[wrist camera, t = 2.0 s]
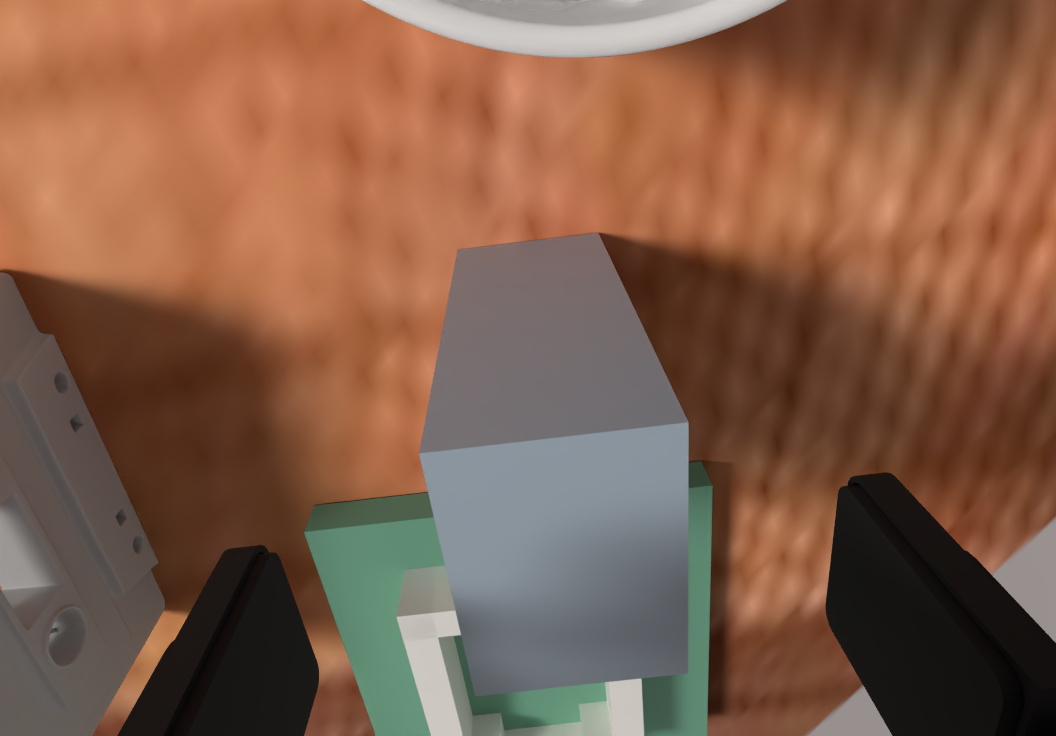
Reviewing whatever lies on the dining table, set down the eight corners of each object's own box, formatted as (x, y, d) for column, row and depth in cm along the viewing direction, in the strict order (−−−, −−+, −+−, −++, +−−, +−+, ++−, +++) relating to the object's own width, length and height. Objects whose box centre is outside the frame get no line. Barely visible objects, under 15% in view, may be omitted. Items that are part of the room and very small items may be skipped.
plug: (457, 249, 17) (419, 453, 9) (598, 232, 17) (689, 422, 9) (490, 444, 20) (484, 733, 12) (611, 430, 19) (687, 711, 11)
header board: (314, 505, 20) (286, 577, 18) (701, 461, 20) (732, 527, 17) (394, 743, 26) (382, 826, 23) (698, 711, 26) (721, 790, 23)
